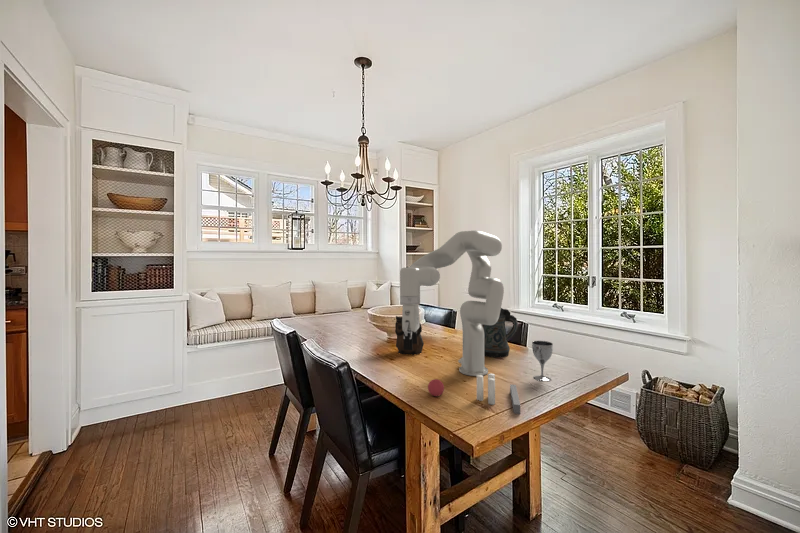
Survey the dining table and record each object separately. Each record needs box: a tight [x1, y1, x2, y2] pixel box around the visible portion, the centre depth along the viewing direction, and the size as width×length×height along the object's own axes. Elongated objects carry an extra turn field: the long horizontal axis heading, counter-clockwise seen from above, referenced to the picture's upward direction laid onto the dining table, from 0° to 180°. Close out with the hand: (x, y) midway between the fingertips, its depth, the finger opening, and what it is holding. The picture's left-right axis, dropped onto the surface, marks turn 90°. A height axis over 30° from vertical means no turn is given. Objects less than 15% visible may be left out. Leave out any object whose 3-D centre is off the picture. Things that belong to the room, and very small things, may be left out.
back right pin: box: [487, 378, 496, 406], centre depth 124 cm, size 2×2×8 cm
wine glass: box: [531, 340, 554, 382], centre depth 147 cm, size 8×8×15 cm
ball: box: [427, 378, 445, 397], centre depth 131 cm, size 6×6×6 cm
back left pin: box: [487, 373, 496, 380], centre depth 128 cm, size 2×2×8 cm
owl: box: [394, 315, 425, 356], centre depth 188 cm, size 13×13×20 cm
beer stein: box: [482, 307, 519, 358], centre depth 185 cm, size 16×19×25 cm
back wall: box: [509, 384, 521, 415], centre depth 124 cm, size 18×2×3 cm, turn 166°
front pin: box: [476, 375, 484, 402], centre depth 127 cm, size 2×2×8 cm
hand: (410, 346), depth 132 cm, fingers open, 8 cm apart
